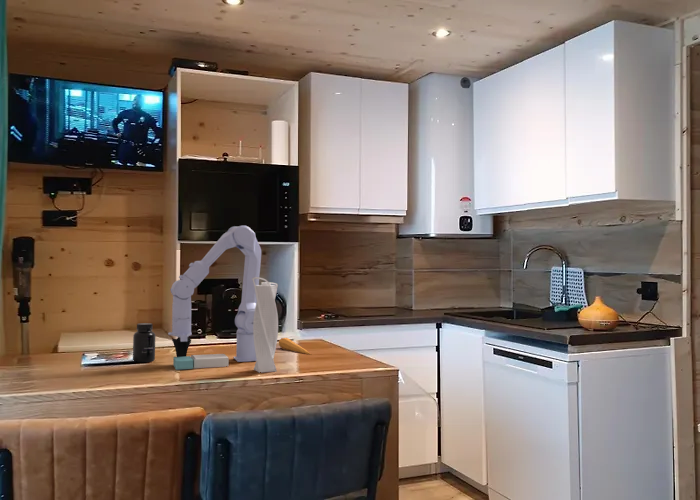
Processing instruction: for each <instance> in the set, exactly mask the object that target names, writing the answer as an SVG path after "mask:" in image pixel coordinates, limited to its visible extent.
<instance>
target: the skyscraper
mask: <svg viewBox="0 0 700 500" xmlns="http://www.w3.org/2000/svg"><path fill="white" fill-rule="evenodd" d="M254 279H259V280H262V281H264V282H260V283H261V284H259V285H255V282H254ZM252 280H253V283H254V287H255V293H256V299H257V303H256V307H255V312H254V320H253V336H254V346H255V353H256V359H257V360H256V361H255V365H254V367H253V371H256V372H257V373H260V372H261V373H270V372H271V373H272V372H277V371H278V370H277V368H276V364H275V360H274V359H275V358H274V357H275V353H276V349H277V344H278V343H277V342H278V335H279V334H278V333H279V315H278V309H277V303H276V296H277V291H278V287H279V284H278V283H276V282H272V281H271V282H270V281H269V280H268V279H265V278H263V277H260V276H259V277H254V278H253V279H252Z"/></svg>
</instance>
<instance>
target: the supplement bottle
mask: <svg viewBox="0 0 700 500" xmlns="http://www.w3.org/2000/svg"><path fill="white" fill-rule="evenodd" d="M153 329H154V328H153V323H150V322H149V323H147V322H144V323H137V324H136V330H137V331H136V332H134V334H133V336H132V337H133V339H132V361H133V360H134V361H137V362H136V363H150V362H151V363H152V362H154V361H155V359H156V357H155V356H156V333H155V332H154V331H153ZM134 361H133V362H134Z"/></svg>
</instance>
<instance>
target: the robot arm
mask: <svg viewBox="0 0 700 500" xmlns="http://www.w3.org/2000/svg"><path fill="white" fill-rule="evenodd" d="M232 248H237V249H239V251H241V253H242V254H243V255H244V264H243V265H244V267H243V280H242V291H241V302H240V304H239V306H238V309H237V310H238V311H237V314H236V315H235V318H234V325H235V327H236V328H237V330H236V349H235V350H236V353H235V354H236V356H233V359H234V360H235V361H237V362H238V363H239V362H242V363H243V362H256V360H257V359H256V353H255V346H254V336H253V320H254V312H255V307H256V303H257V299H256V293H255V287H254V283H253V280H252V279H253V278H254V277H260V273H261V264H262V263H261V261H262V248H261V246H260V244H259V242H258V239H257V237H256V232H254V230H253V229H251V227H249V226H247V225H239V226H235V225H234V226H231V227H230V228H228V230H227V231H225V233H223V234H222V235H221V236H220V238H218V240H217V241H216V242H215V243H214V244H213V246H212V247H211V248H210V249H209V250H208V251H207V253H205V256H203V258H202V259H201V260H194V262H190V263H189V265H188V269H187V270H186V271H185V272H184V273H183V274H180V275H179V276H178V278H179V279H178V280H176V281H174V282H173V283H172V285H171V287H170V293H171V295H172V305H171V306H172V308H171V309H172V315H171V316H172V318H171V320H172V325H171V326H172V330H171V331H170V332H168V333H167V335H168V336H173V337H176V338H173V339H171V341H172V343H173V346H174V350H175V355H176V356H175V357H183V356H188V355H187V354H188V349H189V347H190V346H191V345H190V344H191V343H192V339H191V337H189V336H192V335H193V334H192V296H193V295H194V293H195V289H197V287H198V286H199V285H200V284H201V282H203V280H204V279H205V278H206V277H207V276H208V275H209V274H210V267H211V266H212V265H213V264H214V263H215V262H216V261H217V260H218V258H220V257H221V256H222V254H223V253H224V252H225V251H226V250H229V249H232ZM254 282H255V285H260V279H254Z"/></svg>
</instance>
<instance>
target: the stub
mask: <svg viewBox="0 0 700 500" xmlns="http://www.w3.org/2000/svg"><path fill="white" fill-rule="evenodd" d="M172 365H173V367H174V369H175V370H176V371H177V370H192V369H193V370H194V368H193V360H192V358H191V355H186V356H183V357H177V356H173V363H172Z"/></svg>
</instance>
